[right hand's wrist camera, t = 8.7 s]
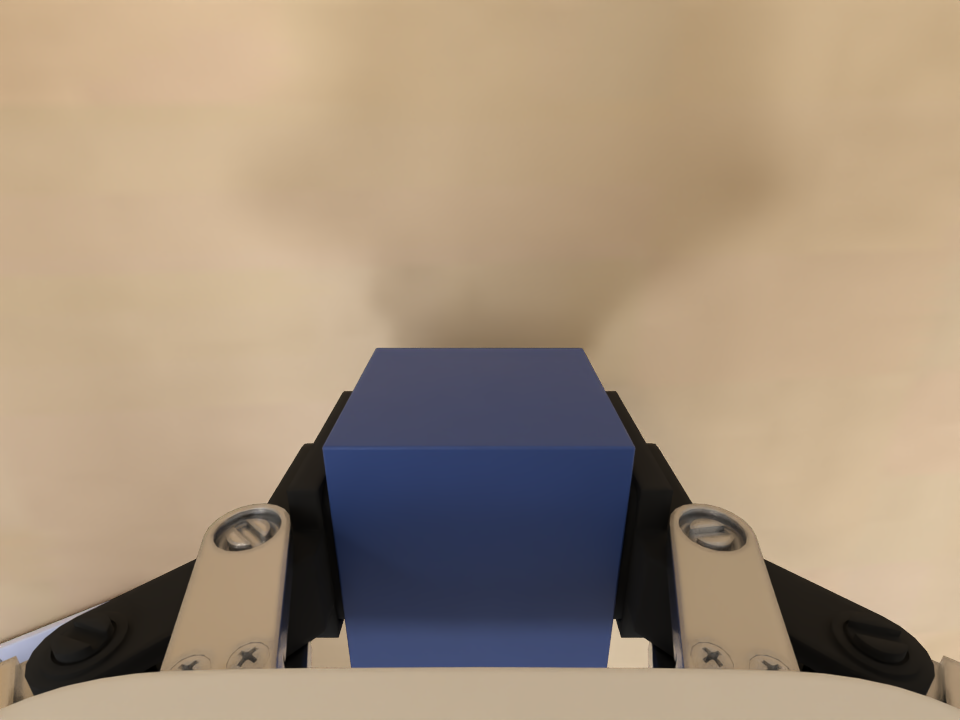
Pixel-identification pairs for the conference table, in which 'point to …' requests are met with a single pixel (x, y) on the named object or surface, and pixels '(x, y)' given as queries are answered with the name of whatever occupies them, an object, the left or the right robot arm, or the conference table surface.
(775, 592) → the right robot arm
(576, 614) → the brick
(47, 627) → the left robot arm
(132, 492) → the conference table surface
